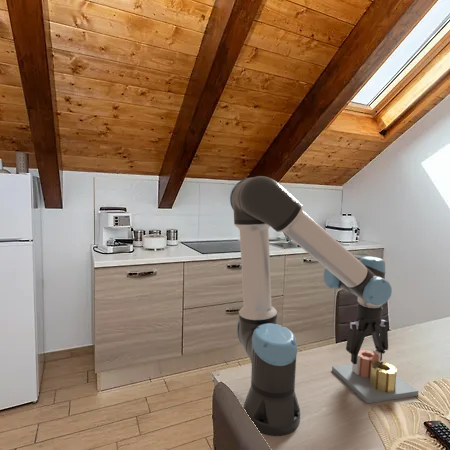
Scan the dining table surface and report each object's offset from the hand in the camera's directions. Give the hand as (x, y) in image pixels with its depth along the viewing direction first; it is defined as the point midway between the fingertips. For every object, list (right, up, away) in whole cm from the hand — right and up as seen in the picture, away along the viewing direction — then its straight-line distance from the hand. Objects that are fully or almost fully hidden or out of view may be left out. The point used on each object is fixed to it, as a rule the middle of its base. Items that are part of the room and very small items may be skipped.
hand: (365, 371), depth 107 cm
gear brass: (+2, -1, -8) cm, 8 cm away
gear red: (0, 0, 0) cm, 0 cm away
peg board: (+1, -2, -3) cm, 4 cm away
